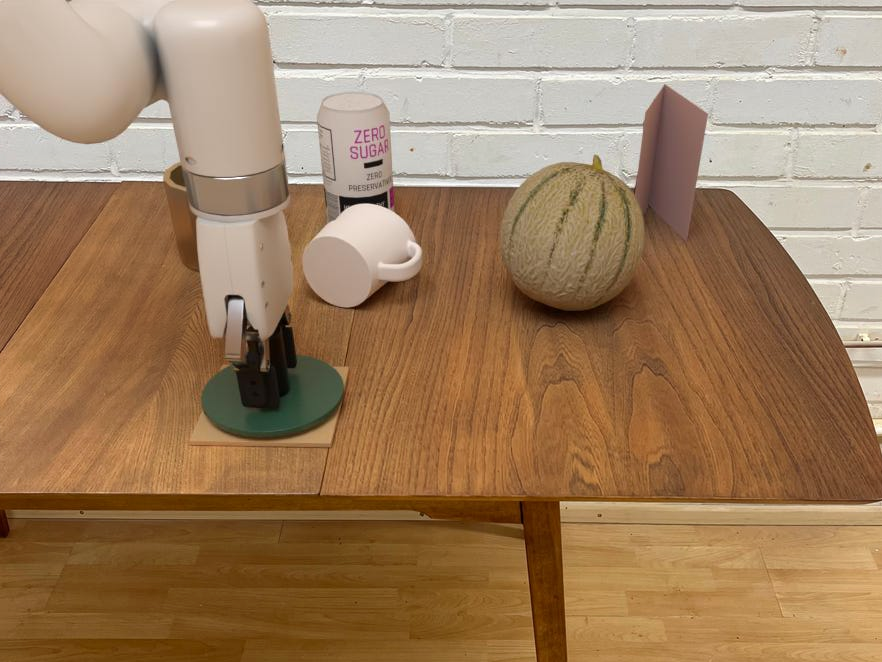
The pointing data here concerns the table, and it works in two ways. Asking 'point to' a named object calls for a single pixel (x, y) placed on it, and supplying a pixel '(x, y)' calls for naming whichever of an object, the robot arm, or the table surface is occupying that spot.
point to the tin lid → (300, 389)
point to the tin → (182, 216)
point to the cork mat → (310, 437)
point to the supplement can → (355, 151)
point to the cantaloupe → (572, 235)
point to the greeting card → (670, 158)
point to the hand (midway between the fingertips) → (270, 383)
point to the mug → (360, 255)
